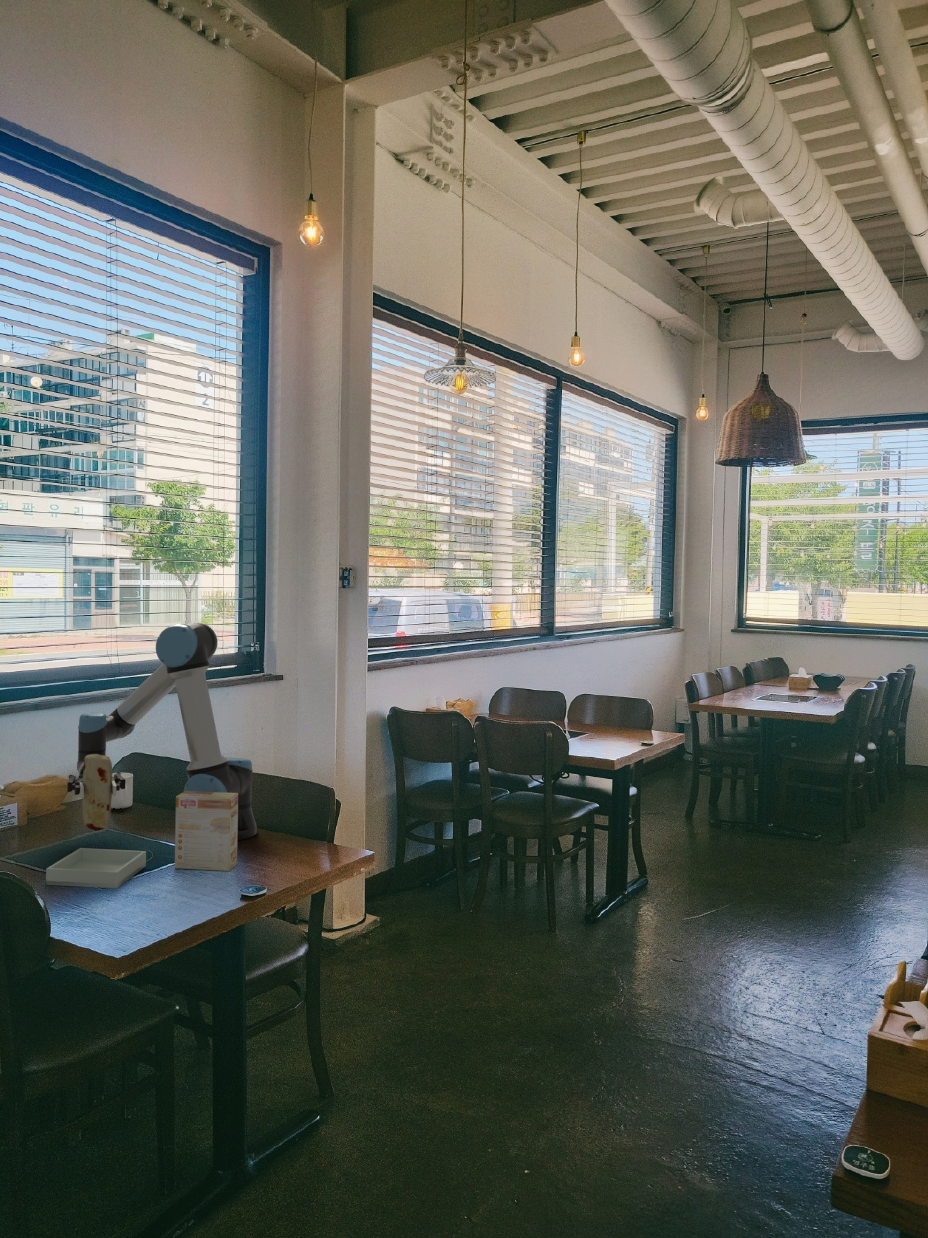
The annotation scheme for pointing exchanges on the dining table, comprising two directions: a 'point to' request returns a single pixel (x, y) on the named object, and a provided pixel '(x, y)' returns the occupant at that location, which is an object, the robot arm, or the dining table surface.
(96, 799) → the food model
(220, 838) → the coffeecake box
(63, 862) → the bin
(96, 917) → the dining table surface
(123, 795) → the mug
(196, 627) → the robot arm
